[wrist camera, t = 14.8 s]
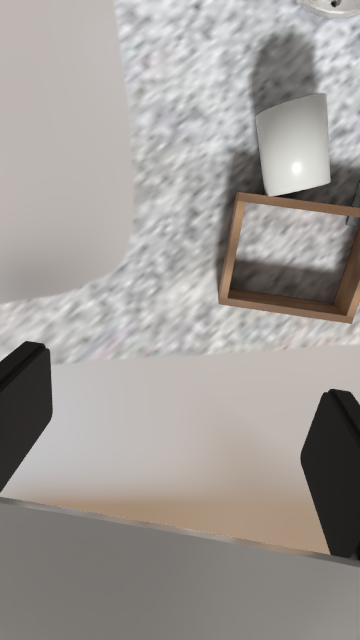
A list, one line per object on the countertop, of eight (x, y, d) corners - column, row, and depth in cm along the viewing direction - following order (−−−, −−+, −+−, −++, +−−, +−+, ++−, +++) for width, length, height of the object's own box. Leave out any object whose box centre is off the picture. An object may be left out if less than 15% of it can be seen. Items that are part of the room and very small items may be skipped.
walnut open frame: (236, 191, 34) (239, 191, 30) (372, 210, 33) (392, 212, 30) (218, 293, 39) (218, 304, 35) (337, 310, 38) (351, 323, 34)
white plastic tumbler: (251, 122, 31) (260, 108, 26) (314, 105, 30) (337, 87, 25) (261, 196, 34) (270, 197, 28) (318, 182, 33) (340, 181, 27)
